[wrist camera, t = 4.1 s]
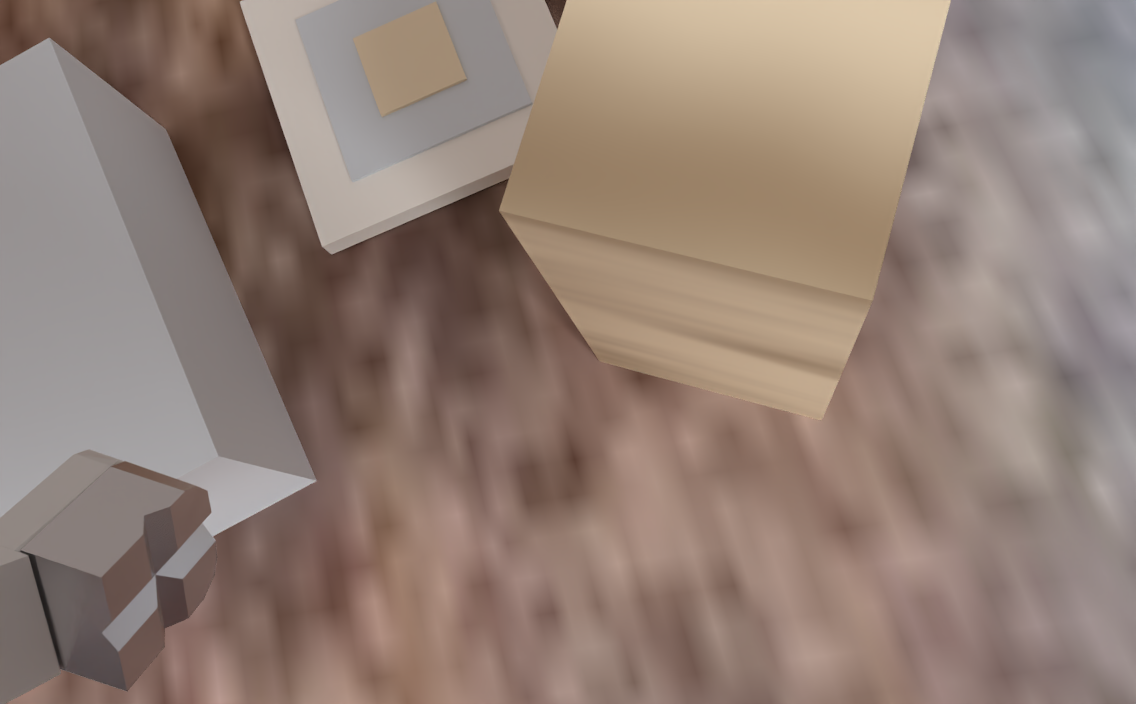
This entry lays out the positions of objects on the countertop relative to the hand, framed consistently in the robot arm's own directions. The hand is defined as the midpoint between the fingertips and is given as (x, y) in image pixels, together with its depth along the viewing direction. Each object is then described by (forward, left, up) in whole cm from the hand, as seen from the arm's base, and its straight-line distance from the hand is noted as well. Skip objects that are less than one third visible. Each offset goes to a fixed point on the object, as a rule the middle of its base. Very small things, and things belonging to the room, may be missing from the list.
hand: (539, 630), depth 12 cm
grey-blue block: (+11, -10, -12) cm, 19 cm away
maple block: (-5, -6, -12) cm, 14 cm away
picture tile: (0, -14, -12) cm, 18 cm away
